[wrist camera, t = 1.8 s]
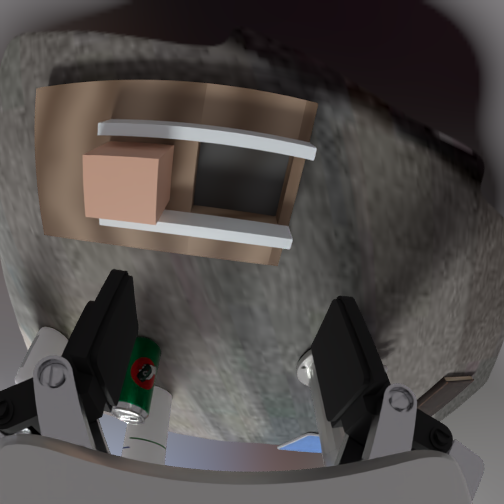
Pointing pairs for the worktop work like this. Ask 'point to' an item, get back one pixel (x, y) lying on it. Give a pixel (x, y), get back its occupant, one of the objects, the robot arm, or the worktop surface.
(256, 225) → the channel
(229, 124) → the board
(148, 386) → the soda can
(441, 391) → the hardcover book
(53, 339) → the white bottle
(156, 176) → the block
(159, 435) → the cylindrical container
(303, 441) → the tablet computer
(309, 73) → the worktop surface
